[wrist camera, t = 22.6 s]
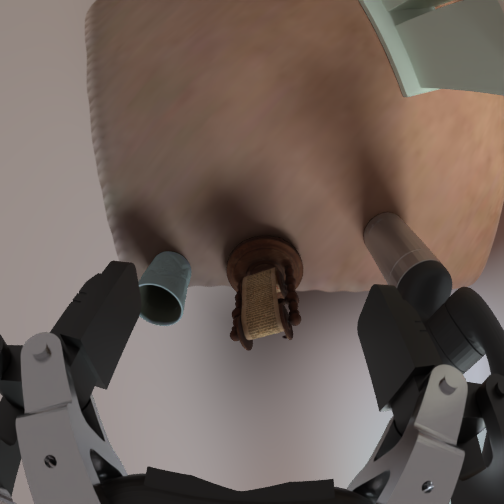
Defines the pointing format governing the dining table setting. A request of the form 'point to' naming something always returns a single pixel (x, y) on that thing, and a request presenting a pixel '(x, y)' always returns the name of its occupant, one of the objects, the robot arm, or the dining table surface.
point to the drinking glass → (164, 289)
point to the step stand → (442, 43)
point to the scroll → (264, 288)
